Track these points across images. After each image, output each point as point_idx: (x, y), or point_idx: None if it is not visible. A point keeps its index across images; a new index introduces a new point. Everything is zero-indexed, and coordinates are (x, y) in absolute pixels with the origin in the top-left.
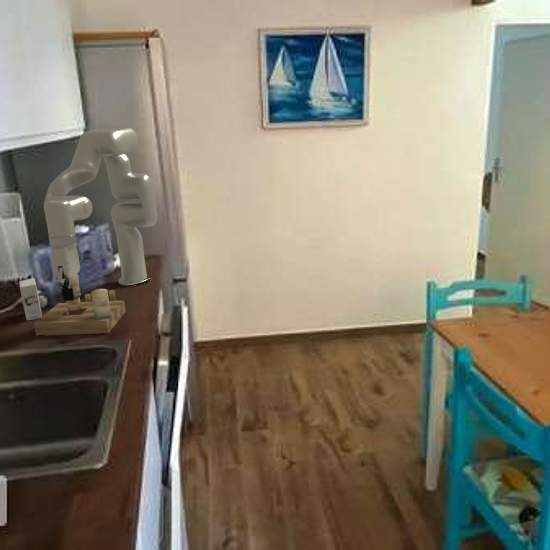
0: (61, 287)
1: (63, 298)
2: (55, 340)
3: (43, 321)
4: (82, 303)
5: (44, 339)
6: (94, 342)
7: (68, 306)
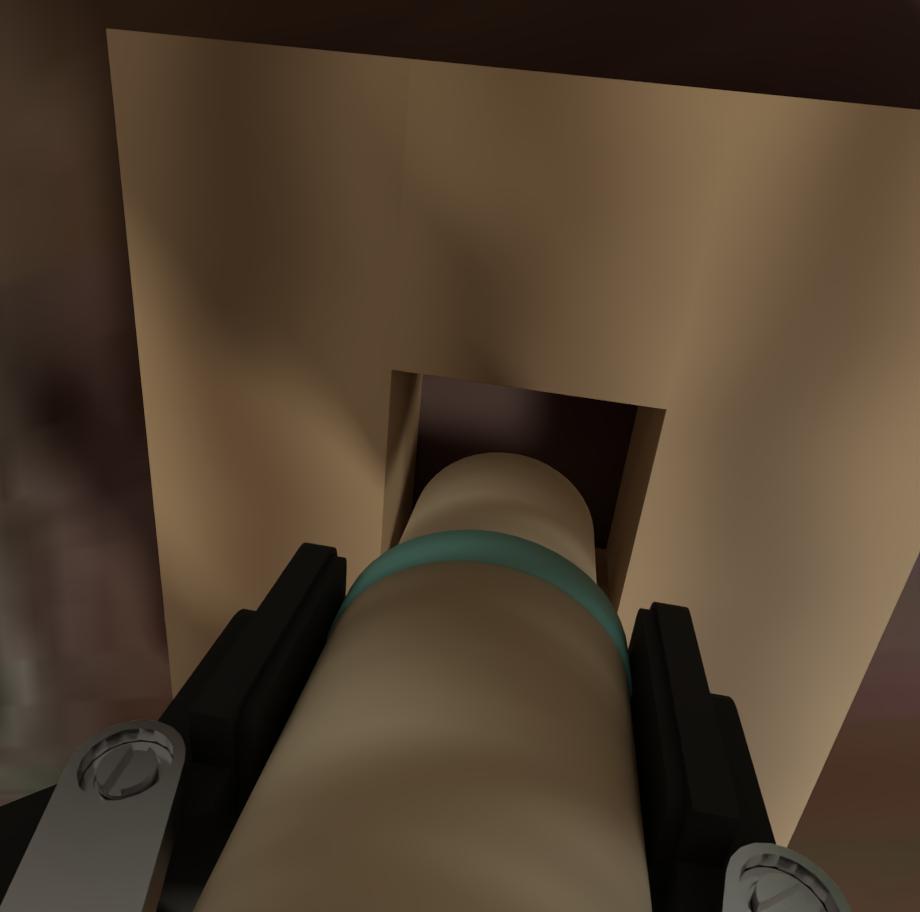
0: (80, 767)
1: (291, 562)
2: (91, 329)
3: (182, 162)
4: (856, 548)
5: (111, 200)
6: (68, 644)
7: (416, 509)
